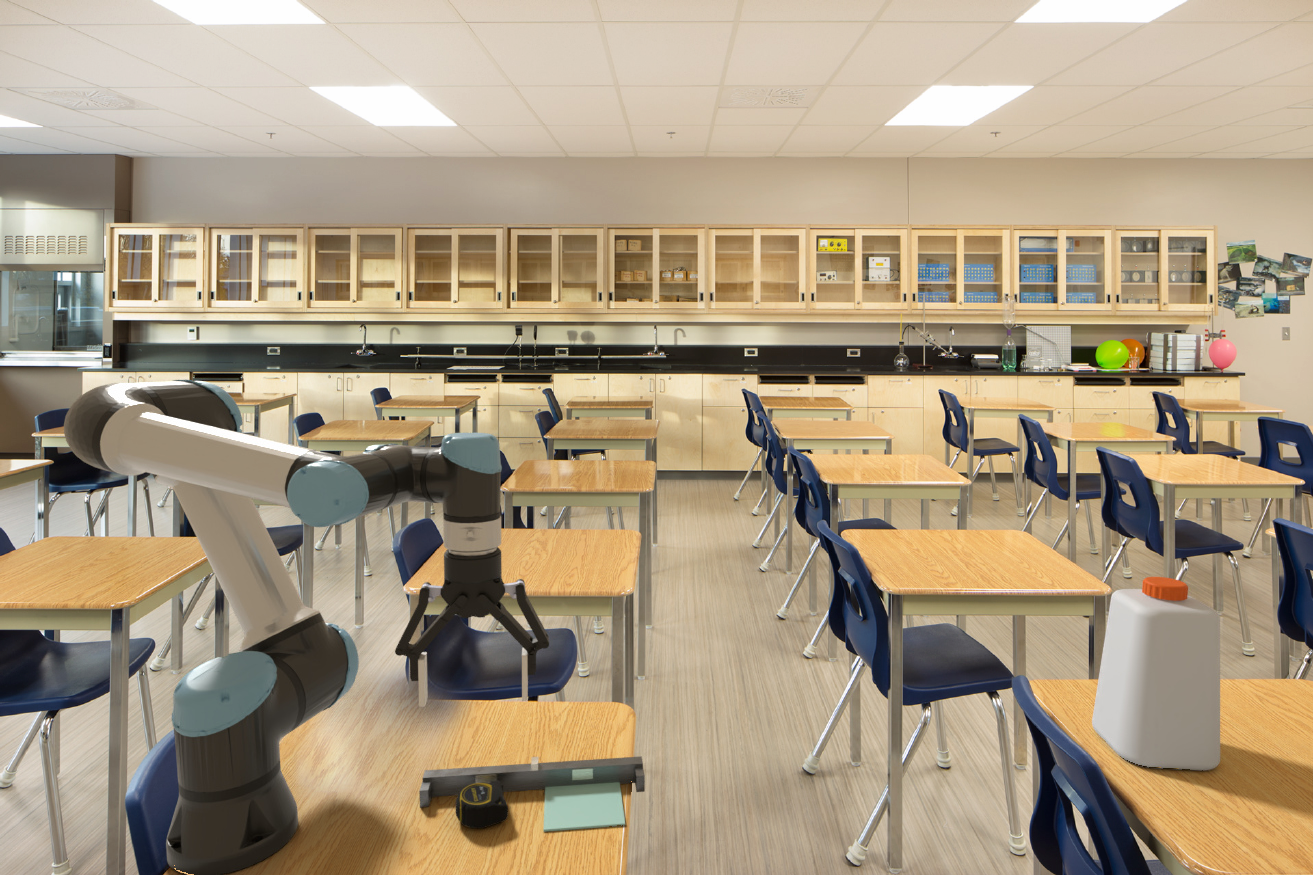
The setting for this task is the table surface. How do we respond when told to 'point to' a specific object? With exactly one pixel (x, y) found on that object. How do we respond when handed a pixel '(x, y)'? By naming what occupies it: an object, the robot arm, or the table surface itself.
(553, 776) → the rail
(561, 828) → the pad
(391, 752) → the table surface
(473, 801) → the tape measure
